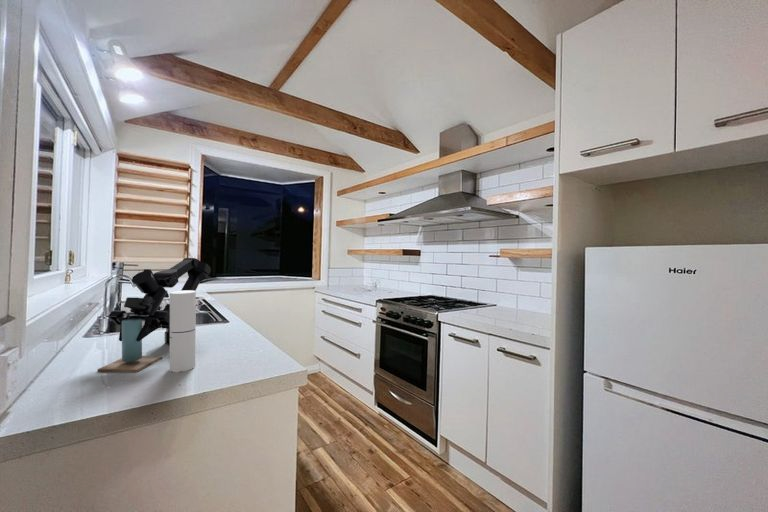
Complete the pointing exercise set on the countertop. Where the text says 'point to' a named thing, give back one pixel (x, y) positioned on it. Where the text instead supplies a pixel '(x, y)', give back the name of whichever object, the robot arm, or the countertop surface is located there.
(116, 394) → the countertop surface
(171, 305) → the cylindrical container
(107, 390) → the countertop surface
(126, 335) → the cylinder
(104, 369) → the walnut board
